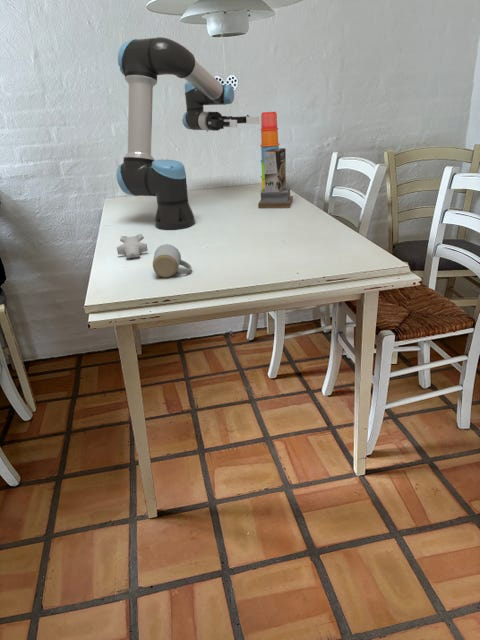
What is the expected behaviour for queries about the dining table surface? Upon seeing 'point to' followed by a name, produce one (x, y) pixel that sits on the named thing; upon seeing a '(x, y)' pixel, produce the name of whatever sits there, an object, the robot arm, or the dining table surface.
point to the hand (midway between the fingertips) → (247, 121)
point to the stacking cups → (268, 137)
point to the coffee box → (275, 169)
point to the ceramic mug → (169, 261)
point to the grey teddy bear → (132, 246)
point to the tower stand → (276, 199)
